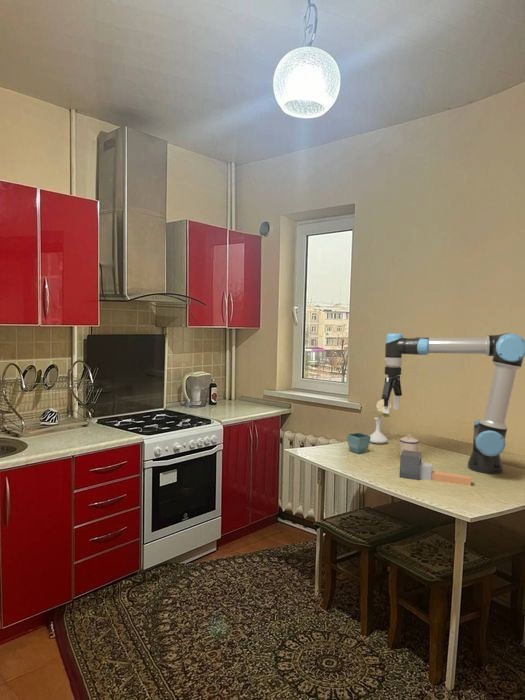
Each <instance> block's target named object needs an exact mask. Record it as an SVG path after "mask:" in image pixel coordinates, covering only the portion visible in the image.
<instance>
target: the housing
mask: <svg viewBox="0 0 525 700" xmlns="http://www.w3.org/2000/svg"><path fill="white" fill-rule="evenodd" d="M422 454H423V453H422V451H418V452H416V451H408V450H403V451H402V453H401V456H400V455H399V457H400V458H399V461H400V462H399V478H401V479H408V480H415V481H419V480H420V479H419V464H420V462H421V463H422Z"/></svg>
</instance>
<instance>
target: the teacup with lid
mask: <svg viewBox="0 0 525 700" xmlns="http://www.w3.org/2000/svg"><path fill="white" fill-rule="evenodd" d="M399 441H400V443H399V457H400V456H401V453H402V451H403V450H408V451H416V452H419V442H420V440H419V439H417V438H415V437H414V436H412V434H410V433H409V434H407V435H406V436H403V437H400V439H399Z"/></svg>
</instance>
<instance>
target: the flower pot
mask: <svg viewBox="0 0 525 700" xmlns="http://www.w3.org/2000/svg"><path fill="white" fill-rule="evenodd" d="M346 435H347V438H346V439H347V445H348V448H349V450H350V451H351V452H352V451H353V452H352V453H355V454H357V453H359V454H364V453H366V451H367V450H368V448H369V446H370V443H371V442H370V438H371V436H370V435H368V434H364V433H360V432H354V433H348V434H346ZM363 452H364V453H363Z"/></svg>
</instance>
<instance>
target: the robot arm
mask: <svg viewBox="0 0 525 700" xmlns="http://www.w3.org/2000/svg"><path fill="white" fill-rule="evenodd" d="M384 347H385V348H384V349H385V353H384V355H385V357H384V358H383V360H384V365H385V367H384V374H385V375H386V376H387V377H385V378H384V384H383V389H382V394H381V399H382V400H383V399H384V405H383V413H382V414H384V413H387V414H389V415H390V412H391V411H390V409H391V408H390V403H391V399H390V397H391V395H392V394H391V393H392V390H393V393H394V395H393V410H398V411H399V410H400V406H401V405H400V403H401V396H403V392H402V385H401V375H402V363H403V362H402V361H403V358H402V357H403V355H413V356H414V355H417V356H427V355H429V354H463V355H464V354H466V355H467V354H471V355H472V354H473V355H474V354H476V355H477V354H479V355H481V354H483V355H486V356H487V357H492V360H491V362H492V364H493V365H494V369H493V375H492V378H491V383H490V388H489V392H488V396H487V397H488V398H487V401H486V406H485V410H484V415H483V417H482V419H476V420H475V421H474V422H473V438H472V440H473V442H472V451H471V454H470V456H469V459H468V460H467V461H468V462H467V468H468V469H469V470H472V471H475V472H479V473H482V474H483V473H484V474H494V475H495V474H501V473H503V469H504V466H503V463H502V458H501V455H500V454H502V453H503V452H504V450H505V448H506V435H507V432H508V426H507V425H506V423H505V422H506V418H507V414H508V409H509V405H510V400H511V396H512V390H513V387H514V382H515V377H516V374H517V370H519V369H521V368H522V365H523V361H524V357H525V339H524V338H523V337H522V336H521V335H519V334H517V333H509V332H508V333H507V332H506V333H502V334H491V335H490V334H489V335H487V336H486V337H420V336H419V337H418V336H416V337H414V338H413V337H411V338H408V337H404V336H403V333H387V334H386V337H385V346H384Z"/></svg>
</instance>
